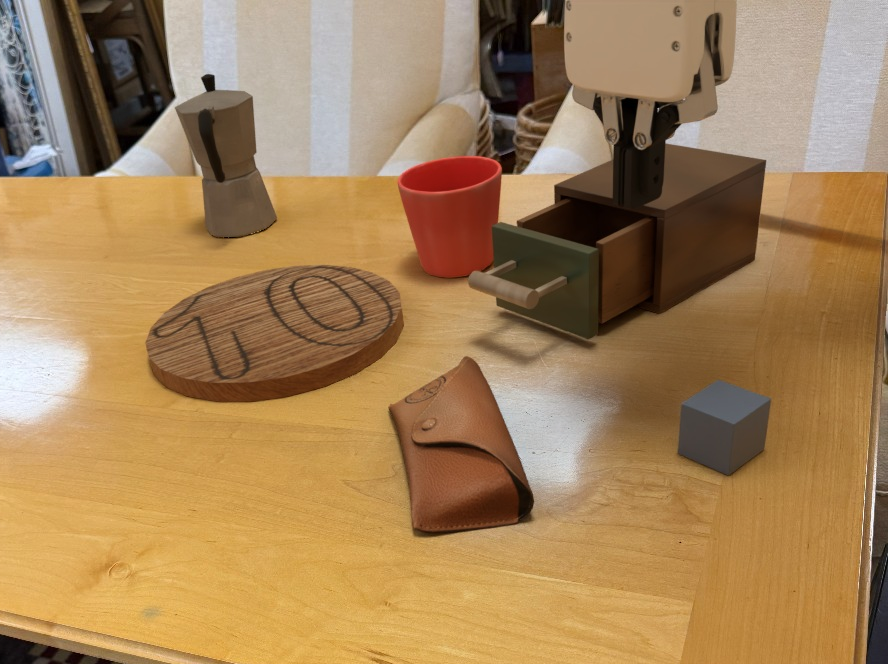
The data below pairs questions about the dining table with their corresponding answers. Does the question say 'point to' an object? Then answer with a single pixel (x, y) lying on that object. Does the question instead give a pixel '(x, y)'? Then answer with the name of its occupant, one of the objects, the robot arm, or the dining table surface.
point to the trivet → (275, 333)
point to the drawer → (572, 264)
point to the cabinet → (690, 217)
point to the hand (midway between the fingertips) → (637, 201)
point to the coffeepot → (227, 160)
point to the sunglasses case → (460, 455)
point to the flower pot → (452, 212)
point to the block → (723, 426)
